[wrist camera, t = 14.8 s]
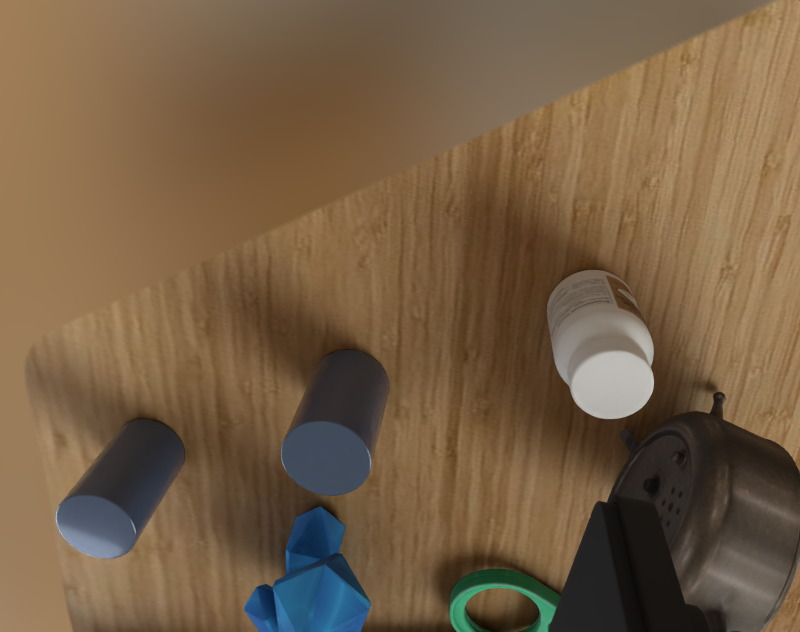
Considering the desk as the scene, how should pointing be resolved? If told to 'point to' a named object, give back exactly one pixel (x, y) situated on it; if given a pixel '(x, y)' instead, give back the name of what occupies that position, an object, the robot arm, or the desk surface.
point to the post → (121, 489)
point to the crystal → (312, 583)
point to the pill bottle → (601, 344)
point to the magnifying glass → (501, 579)
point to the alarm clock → (721, 513)
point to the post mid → (337, 424)
